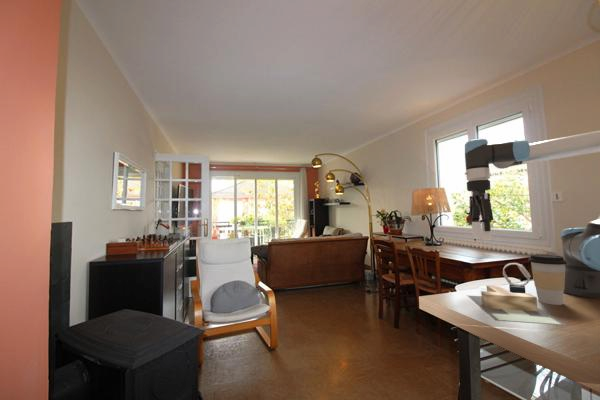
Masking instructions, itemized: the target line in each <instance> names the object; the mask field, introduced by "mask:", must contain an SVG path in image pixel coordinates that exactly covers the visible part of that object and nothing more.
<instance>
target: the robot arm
mask: <svg viewBox="0 0 600 400" xmlns="http://www.w3.org/2000/svg"><path fill="white" fill-rule="evenodd" d="M594 153H600V130H595V131H589V132H584V133H580V134H574V135H573V134H572V135H569V136H564V137H557V138H553V139H547V140H542V141H537V142H533V143H529V141H528V140H527V139H520V140H519V139H518V140H517V139H516V140H511V141H503V142H497V143H495V142H494V143H489V142H488V140H487V139H485V138H476V139H471V140H468V141H467V142H466V143H465V144H464V159H465V160H464V161H465V172H464V175H465V176H466V181H467V182H466V191H467V192H472V195H470V196H469V217H468V218H469V219H468V220H469V221H470V222H471V229H472V239H481V241H484V242H485V241H490V242H491V241H493V240H492V239H493V237H492V224H491V223H492V221H494V216H493V209H492V204H491V194H490V193H489V192H486V191H489V190H491V180H490V178H491V172H490V170H491V169H490V164H491V165H493V166H494V167H495V168H496V169H508V168H510V167H514V166H520V165H524V164H530V163H539V162H544V161H550V160H551V161H552V160H557V159H561V158H563V159H564V158H570V157H576V156H583V155H588V154H594ZM480 217H481V218H480ZM560 240H561V247H562V248H561V249H562V257H563V259H564V260H565V261H566V263H567V264H565V287H564V294H565V293H566V294H569V295H573V296H577V297H583V298H584V297H585V298H588V299H589V298H591V299H598V298H600V215H599V216H598V218H597V219H595V220H591V221H589V222H588V223H587V225H586V226H585V227H570V228H564V229H562V231H561V236H560Z"/></svg>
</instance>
